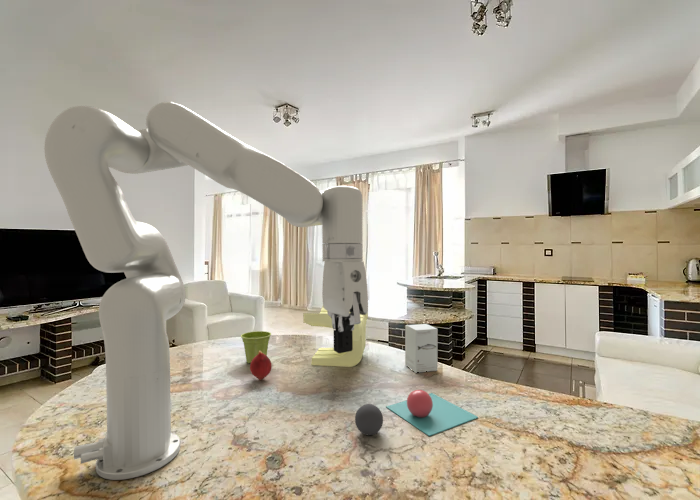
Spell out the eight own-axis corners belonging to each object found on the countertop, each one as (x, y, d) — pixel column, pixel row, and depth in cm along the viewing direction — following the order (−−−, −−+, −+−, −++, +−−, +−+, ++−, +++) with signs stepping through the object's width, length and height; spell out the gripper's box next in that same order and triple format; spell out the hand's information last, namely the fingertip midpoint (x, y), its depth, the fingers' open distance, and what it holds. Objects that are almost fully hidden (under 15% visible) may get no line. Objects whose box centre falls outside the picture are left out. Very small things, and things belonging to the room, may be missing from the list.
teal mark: (429, 436, 66) (429, 435, 66) (386, 407, 78) (386, 406, 78) (478, 417, 73) (478, 416, 73) (431, 393, 85) (431, 392, 85)
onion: (274, 376, 98) (274, 348, 98) (267, 384, 92) (267, 354, 92) (254, 375, 98) (254, 347, 98) (246, 383, 92) (246, 353, 92)
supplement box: (415, 373, 99) (415, 330, 99) (404, 365, 106) (404, 324, 106) (438, 371, 101) (438, 328, 101) (426, 363, 108) (426, 322, 108)
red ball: (434, 390, 73) (440, 412, 73) (417, 381, 77) (423, 402, 78) (415, 404, 70) (422, 427, 71) (398, 394, 75) (405, 415, 76)
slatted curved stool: (359, 377, 96) (358, 314, 96) (303, 375, 98) (303, 313, 98) (367, 346, 126) (367, 298, 126) (325, 345, 128) (325, 297, 128)
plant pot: (239, 359, 113) (239, 332, 113) (268, 355, 117) (267, 329, 116) (243, 368, 104) (243, 339, 104) (274, 363, 108) (274, 336, 108)
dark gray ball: (384, 405, 66) (391, 430, 67) (368, 394, 71) (375, 417, 72) (361, 421, 63) (369, 446, 64) (346, 408, 68) (354, 432, 69)
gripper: (382, 253, 60) (382, 358, 60) (340, 252, 73) (341, 339, 73) (344, 254, 56) (345, 366, 56) (308, 253, 69) (308, 344, 69)
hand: (343, 350), depth 65 cm, fingers closed
